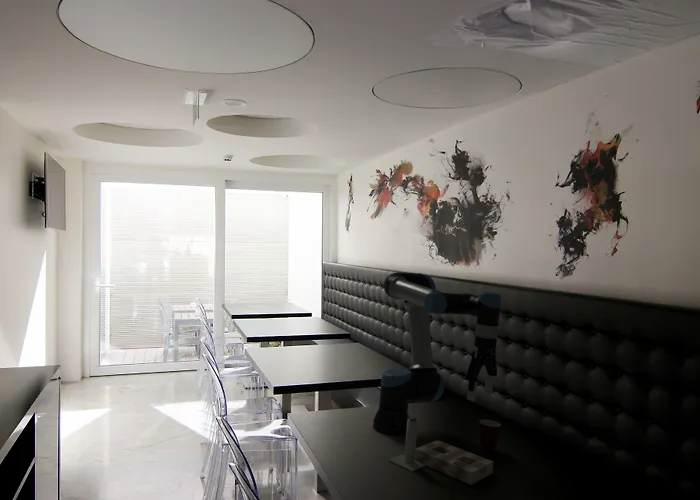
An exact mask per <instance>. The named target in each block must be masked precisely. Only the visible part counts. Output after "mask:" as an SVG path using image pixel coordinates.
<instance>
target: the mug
mask: <svg viewBox="0 0 700 500" xmlns="http://www.w3.org/2000/svg"><path fill="white" fill-rule="evenodd" d="M477 426H478V427H477V429H478V440H479V444H480V445H479V446H480V447H481V449H482V450H483V451H485V452H490V453H491V452H493V451H494V450H495V449H496V447H497V445H498V442H499V439H500V435H501V431H502V430H501V428H502V425H501V423H500V422H498V421H495V420H491V419H486V418H485V419H484V418H483V419H479V421H478V425H477Z"/></svg>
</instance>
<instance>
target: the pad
mask: <svg viewBox="0 0 700 500" xmlns="http://www.w3.org/2000/svg"><path fill="white" fill-rule="evenodd" d="M387 461H388V462H390V463H392V464H393V465H397V466H399V467H400V468H402V469H403V468H404V469H405V470H408V471H410V472H412V473H413V472H415V471H417V470H419V469H422V468H424V467H427V466H426V464H424V463H422V462H419V461H417V460H414V463H413V464H409V463H406V462H404V453H402V454H399V455H397V456H395V457H391V458H389V459H387Z"/></svg>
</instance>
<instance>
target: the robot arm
mask: <svg viewBox="0 0 700 500" xmlns="http://www.w3.org/2000/svg"><path fill="white" fill-rule="evenodd" d="M383 290H384V292H385V294H386V295H387V297H389V298H392V299H395V300H398V301H399V300H403V303H404V304H403V305H404V306H405V307H406V308H407V311H408V325H409V337H410V351H411V352H410V353H411V366H410V367H409V368H408V369H405V368H398V367H396V368H390V369H386V370H385V371H384V372H383V373H382V376H381V381H380V390H379V391H380V392H379V393H380V394H379V403H378V409H377V412H376V414H375V416H374V419H373V420H372V421H373V422H372V428H373V429H374V430H376V431H377V432H378V433H379V432H380V433H381V434H385V435H389V436H390V435H391V436H404V435H405V436H406V431H407V420H408V419H409V418H410V416H409V403H430V402H436V401H438V400H439V399H440V398H441V396H442V395H443V393H444V390H445V380H444V377H443V375H442V374H441V373H440V372H438V367H437V366H436V365H435V364H434V363H433V351H432V340H431V338H432V337H431V326H430V314H436V315H440V314H441V315H442V314H443V315H445V314H446V315H463V316H465V315H466V316H473V317H476V322H475V330H474V333H475V335H474V340H473V341H474V342H473V344H474V345H473V346H474V347H476V348H477V351H472V354H471V359H470V363H469V364H468V365H469V366H468V368H467V372H466V375H465V380H466V381H468V384H467V393H466V394H467V395H466V400H468V401H471V402H476V396H477V388H478V387H477V386H478V382H477V379H478V377H479V375H480V372H481V370H482V368H483V366H484V368H485V370H486V374H485V382H484V390H483V393H484V394H487V395H493V390H494V389H493V388H494V379H495V378H494V377H498V367H497V366H498V365H497V357H496V356H497V355H496V352H497V350H496V349H497V343H498V339H497V338H498V333H499V331H500V329H499V324H500V314H501V308H502V296H501V295H500V294H499V293H496V292H492V291H491V292H490V291H480V292H479V293H478V294H479V295H476V294H472V293H467V292H460V293H452V292H451V293H450V292H443V291H440V290H437V289H436V283H435V281H434V279H433V278H432V277H431V276H430V275H428V274H424V273H420V272H419V273H417V272H416V273H413V272H403V271H401V272H400V271H398V272H393V273H391V274H389V275H388V276H387V277H386V278H385V279H384V282H383Z"/></svg>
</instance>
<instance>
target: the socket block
mask: <svg viewBox="0 0 700 500" xmlns="http://www.w3.org/2000/svg"><path fill="white" fill-rule="evenodd" d="M415 460H417V461H419V462H422V463H424V464H426V466H425V467H428V468H430V469H433V470H435V471H438V472H441V473H442V474H445V475H447V476H449V477H452V478H454V479H456V480H458V481H461V482H463V483H466V484H467V485H470V486H472V485H474V484H476V483H477V482H479V481H482V480H483V479H484V478H487V477H488V476H490V475H492V474H493V468H494V461H493V460H490V459H488V458H485V457H482V456H480V455H477V454H475V453H472V452H470V451H467V450H465V449H463V448H460V447H456V446H453V445H451V444H449V443H446V442H444V441H441V440H438V439H437V440H433V441H431V442H429V443H427V444H423V445H422V446H419V447H416V450H415Z"/></svg>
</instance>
